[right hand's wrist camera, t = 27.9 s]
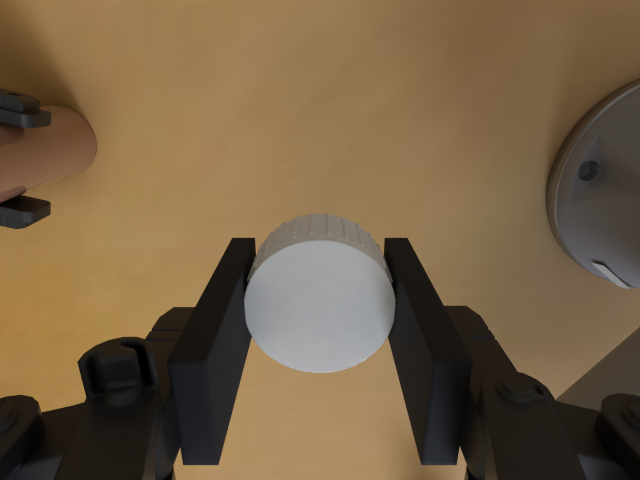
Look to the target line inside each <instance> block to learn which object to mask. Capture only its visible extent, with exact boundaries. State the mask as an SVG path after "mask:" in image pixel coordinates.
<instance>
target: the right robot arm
mask: <svg viewBox="0 0 640 480" xmlns="http://www.w3.org/2000/svg"><path fill="white" fill-rule="evenodd" d="M547 214H548V220H549V223H550V227H551V230H552V232H553V235H554V237H555V239H556V240H557V242H558V244H559V245H560V247H561V248H562V249H563V250H564V252H565V253H566V254H567V255H568V256H569V257H570V258H572V259H573V260H574V261H575V262H577V263H578V264H579V265H581V266H582V267H584V268H585V269H586V270H588V271H590V272H591V273H593V274H595V275H597V276H599V277H601V278H604V279H606V280H608V281H611V282H613V283H615V284H616V285H617V286H619V287H623V288H626V289H630V288H629V287H636V288H640V79H639V80H637V81H635V82H632V83H630V84H628V85H626V86H624V87H623V88H621V89H619V90H617V91H616V92H614V93H613V94H611V95H610V96H608V97H607V98H605V99H604V100H603V101H601V102H600V103H599V104H598V105H597V106H595V107H594V108H593V109H592V110H591V111H590V112H589V113H588V114H587V115H586V116H585V117H584V118H583V119H582V120H581V121H580V122H579V124H578V125H577V126H576V127H575V128H574V130H573V131H572V132H571V134H570V135H569V137H568V138H567V140H566V141H565V143H564V145H563V146H562V148H561V150H560V152H559V154H558V156H557V158H556V160H555V163H554V166H553V168H552V171H551V175H550V179H549V183H548V189H547ZM255 256H256V249H255V238H232V240H231V242H230V243H229V245H228V247H227V249H226V251H225V253H224V255H223V256H222V258H221V260H220V262H219V264H218V266H217V268H216V269H215V271H214V273H213V275H212V277H211V279H210V281H209V283H208V284H207V286H206V288H205V290H204V292H203V294H202V296H201V297H200V299H199V301H198V303H197V305H196V307H173V308H172V309H171V310H169V311H168V312H166V313H165V314H164V315H162V316H161V317H159V319H158V320H157V322H156V323H155V325H154V326H153V328H152V331H150V332H149V334H148V336H147V337H146V339H142V338H138V337H121V338H117V339H112V340H108V341H106V342H103V343H101V344H99V345H96V346H94V347H93V348H91V349H90V350H89V351H87V352H86V353H84V354H83V356H82V357H81V358H80V359H79V361H78V366H79V370H80V374H81V378H82V382H83V386H84V389H85V393H86V397H87V398H86V400H85V402H84V403H80V404H77V405H73V406H69V407H64V408H60V409H56V410H51V411H47V412H42V413H41V410H40V406H39V403H38V402H37V401H36V400H35V399H34V398H33V397H30V396H24V395H16V396H7V397H3V398H0V480H175V473H174V467H173V465H174V462H175V459H176V457H177V454H178V451H179V449H180V448H181V454H182V460H183V465H218V464H219V461H220V457H221V453H222V449H223V445H224V441H225V437H226V434H227V430H228V426H229V422H230V418H231V414H232V411H233V407H234V403H235V399H236V395H237V391H238V388H239V384H240V380H241V376H242V372H243V368H244V364H245V361H246V357H247V353H248V349H249V345H250V341H251V338H252V336H251V334H250V332H249V330H248V327H247V324H246V317H245V304H244V295H245V291H246V288H247V284H248V282H247V278H248V275H249V273H250V270H251V267H252V264H253V262H254V259H255ZM384 257H385V260H386V263H387V266H388V269H389V271H390V274H391V277H392V280H393V283H391V284H392V287H393V289H394V294H395V314H394V322H393V326H392V328H391V331H390V333H389V335H388V339H389V342H390V346H391V350H392V354H393V358H394V362H395V365H396V369H397V373H398V377H399V381H400V385H401V389H402V392H403V396H404V400H405V404H406V408H407V412H408V415H409V419H410V423H411V427H412V431H413V435H414V439H415V442H416V446H417V450H418V454H419V458H420V462H421V465H457V459H458V452H459V446H460V447H461V450H462V453H463V455H464V458H465V461H466V463H467V467H466V473H465V479H464V480H640V327H639V328H638V329H637V330H636V331H635V332H633V333H632V334H631V335H630V336H629V337H628V338H626V339H625V340H624V341H623V342H622V343H621V344H619V345H618V346H617V347H616V348H615V349H614V350H613V351H611V352H610V353H609V354H608V355H607V356H606V357H604V358H603V359H602V360H601V361H600V362H599V363H597V364H596V365H595V366H594V367H593V368H592V369H591V370H589V371H588V372H587V373H586V374H585V375H584V376H582V377H581V378H580V379H579V380H578V381H577V382H575V383H574V384H573V385H572V386H571V387H570V388H568V389H567V390H566V391H565V392H564V393H563V394H562V395H560V396H559V397H558V398H557V399H556V400H555V399H554V397H553V396H552V394H551V393H550V391H549V390H548V388H547V387H546V386H544V385H543V384H542V383H540V382H539V381H538V380H537V379H534V378H532V377H530V376H528V375H526V374H524V373H520V372H517V370H516V369H515V367H514V366H513V364H512V363H511V361H510V360H509V358H508V357H507V355H506V354H505V352H504V351H503V349H502V348H501V346H500V345H499V343H498V342H497V340H495V337H494V336H493V334H492V333H491V331H490V330H488V327H487V325H486V324H485V322H484V321H483V319H482V318H481V316H480V315H478V314H477V313H475V312H474V311H473V310H471V309H470V308H468V307H467V306H444V305H443V304H442V302H441V300H440V298H439V296H438V294H437V292H436V290H435V289H434V287H433V285H432V283H431V281H430V279H429V277H428V276H427V274H426V272H425V270H424V268H423V266H422V264H421V263H420V261H419V259H418V257H417V255H416V253H415V251H414V250H413V248H412V246H411V244H410V242H409V240H408V238H385V244H384ZM627 286H629V287H627ZM630 290H631V289H630Z"/></svg>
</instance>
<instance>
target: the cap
mask: <svg viewBox="0 0 640 480" xmlns="http://www.w3.org/2000/svg"><path fill="white" fill-rule="evenodd" d="M247 282H248V284H247V288H246V291H245V295H244V304H245V317H246V324H247V327H248V330H249V332H250V334H251V336H252V337H253V339H254V340H255V342H256V343H257V345H258V346H259V347H260V348H261V349H262V350H263V351H264V352H265V353H266V354H267V355H269V356H270V357H271V358H273V359H274V360H276V361H277V362H279V363H281V364H283V365H285V366H288V367H290V368H293V369H296V370H300V371H305V372H312V373H326V372H334V371H340V370H343V369H346V368H350V367H352V366H354V365H357V364H359V363H360V362H362V361H364V360H365V359H367V358H368V357H370V356H371V355H372V354H373V353H374V352H375V351H376V350H378V349H379V347H380V346H381V345H382V344H383V343H384V341H385V340H386V338H387V336H388V335H389V333H390V331H391V328H392V326H393V322H394V314H395V294H394V289H393V287H392V284H391V283H393V280H392V277H391V274H390V271H389V269H388V266H387V263H386V260H385V257H384V256H383V255H382V252H381V249H380V246H379V244H376V243H375V241H374V240H373V238H372V237H371V234H370V233H369V232H368V233H367V232H366V231H365V230H364V229H362V228H361V227H360V226H359V224H357V223H356V224H355V223H353V222H352V221H349V220H347V219H345V217H338V216H334V215H330V214H314V213H312V214H311V215H306V216H301V217H296V218H295V219H292V220H290V221H288V222H286V223H282V225H281V226H280V227H278V228H277V229H276V230H275V231H274V232H270V234H269V237H268V238H267V239H266V240H265V242H264V243H261V246H260V248H259V251H258V254H257V256H255V259H254V262H253V264H252V267H251V270H250V273H249V275H248V278H247Z"/></svg>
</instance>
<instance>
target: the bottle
mask: <svg viewBox="0 0 640 480" xmlns="http://www.w3.org/2000/svg"><path fill="white" fill-rule="evenodd" d="M40 109H42V110H46V111H49V112H51V125H50V126H45V127H40V128H23V127H18V126H14V125H10V124H5V123H1V122H0V203H2V202H4V201H7V200H9V199H12V198H14V197H17V196H20V195H22V194H25V193H27V192H30V191H32V190H35V189H37V188H40V187H42V186H45V185H48V184H50V183H53V182H55V181H58V180H60V179H63V178H65V177H68V176H70V175H73V174H76V173H78V172H81V171H83V170H84V169H86V168H87V167H88V166H89V165H90V164H91V163H92V161H93V159H94V157H95V154H96V140H95V136H94V133H93V131H92V129H91V127H90V126H89V124H88V123H87V122H86V120H85V119H84V118H83V117H82V116H80V115H79V114H78V113H76V112H75V111H73V110H71V109H69V108H66V107H63V106H56V105H53V106H43V107H40Z"/></svg>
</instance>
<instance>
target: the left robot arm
mask: <svg viewBox="0 0 640 480" xmlns="http://www.w3.org/2000/svg"><path fill="white" fill-rule="evenodd" d="M0 122H1V123H5V124H10V125H14V126H18V127H23V128H40V127H45V126H50V125H51V112H49V111H46V110H42V109H40V101H38V100H37V99H35V98H34V97H32V96H30V95H26V94H22V93H18V92H14V91H9V90H5V89H1V88H0ZM50 206H51V203H50V202H49V201H46V200H41V199H36V198H32V197H27V196H23V195H20V196H17V197H14V198H12V199H9V200H7V201H4V202H2V203H0V226H4V227H9V228H13V229H20V228H25V227H27V226H29V225H31V224H33V223H35V222H37V221H39V220H41V219H43V218H45V217H47V216H49V215H50Z"/></svg>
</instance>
